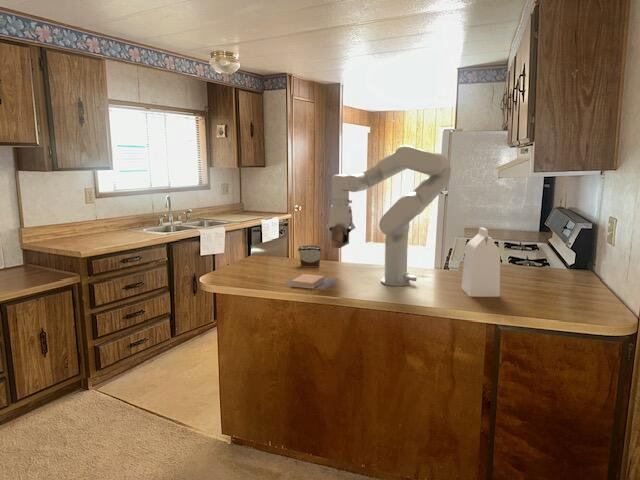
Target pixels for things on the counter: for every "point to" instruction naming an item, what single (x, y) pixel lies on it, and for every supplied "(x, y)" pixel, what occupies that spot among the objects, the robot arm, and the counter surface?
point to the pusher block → (338, 237)
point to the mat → (322, 286)
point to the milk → (481, 266)
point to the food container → (310, 255)
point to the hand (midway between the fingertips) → (340, 242)
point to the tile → (308, 281)
